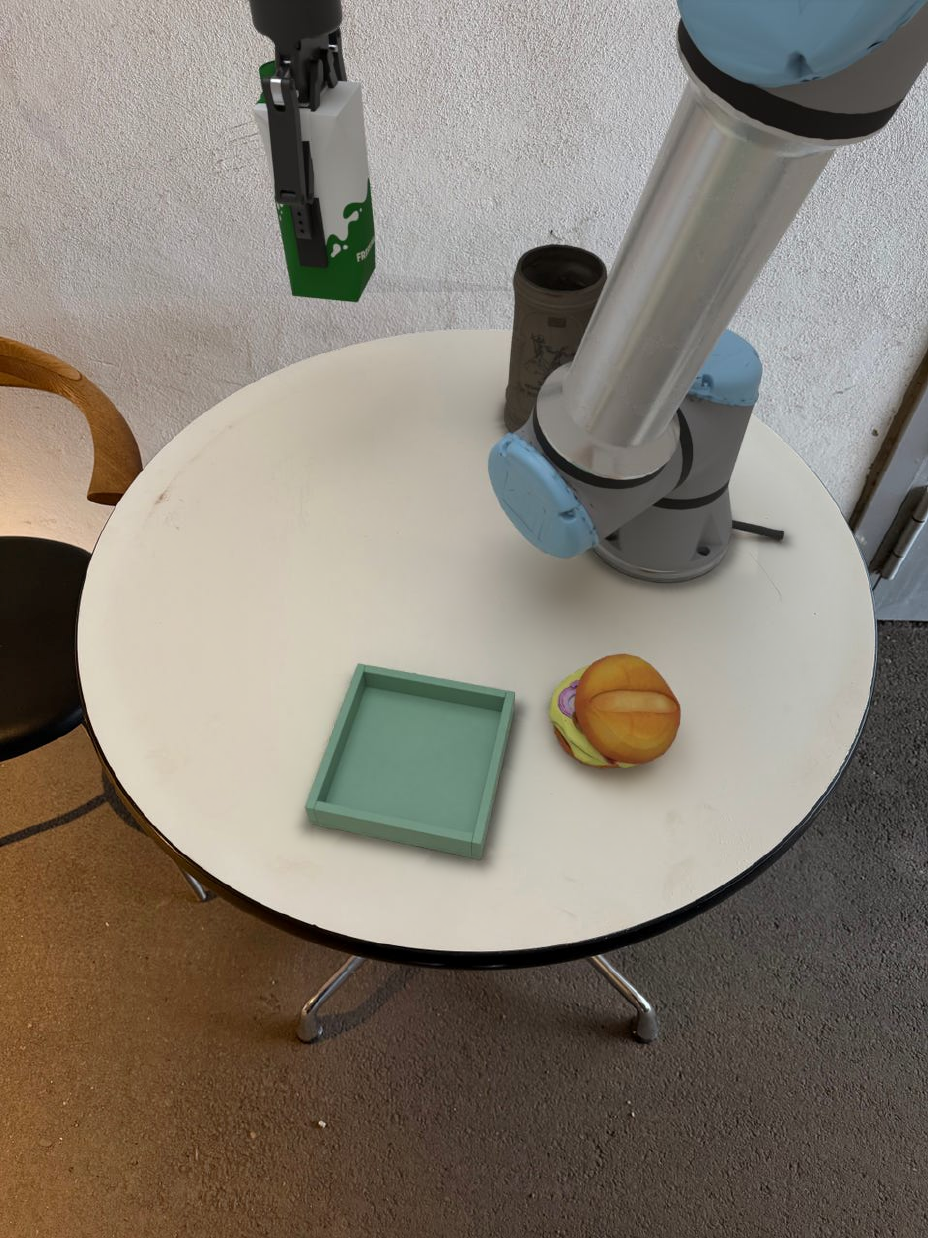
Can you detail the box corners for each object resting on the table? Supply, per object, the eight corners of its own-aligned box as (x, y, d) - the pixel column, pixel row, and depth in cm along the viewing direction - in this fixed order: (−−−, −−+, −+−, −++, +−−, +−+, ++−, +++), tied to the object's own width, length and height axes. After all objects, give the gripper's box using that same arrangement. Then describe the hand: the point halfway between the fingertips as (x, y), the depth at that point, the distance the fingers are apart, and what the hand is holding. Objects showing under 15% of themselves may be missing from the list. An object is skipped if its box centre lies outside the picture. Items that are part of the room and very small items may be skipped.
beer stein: (489, 439, 101) (505, 285, 85) (506, 384, 108) (524, 231, 92) (617, 464, 100) (659, 312, 84) (627, 407, 106) (667, 256, 90)
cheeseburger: (601, 657, 81) (636, 608, 73) (677, 745, 78) (722, 705, 70) (521, 713, 77) (547, 669, 69) (597, 809, 74) (635, 774, 66)
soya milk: (307, 257, 94) (272, 47, 78) (387, 264, 92) (368, 53, 77) (280, 300, 88) (237, 84, 73) (365, 308, 87) (339, 91, 71)
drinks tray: (514, 710, 78) (515, 691, 76) (481, 860, 69) (481, 844, 67) (361, 681, 80) (357, 662, 78) (309, 824, 71) (304, 807, 69)
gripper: (292, -69, 76) (328, 189, 94) (192, 12, 63) (255, 293, 81) (373, -65, 75) (394, 195, 93) (288, 17, 62) (331, 302, 80)
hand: (329, 241), depth 87 cm, fingers closed on soya milk, 9 cm apart
